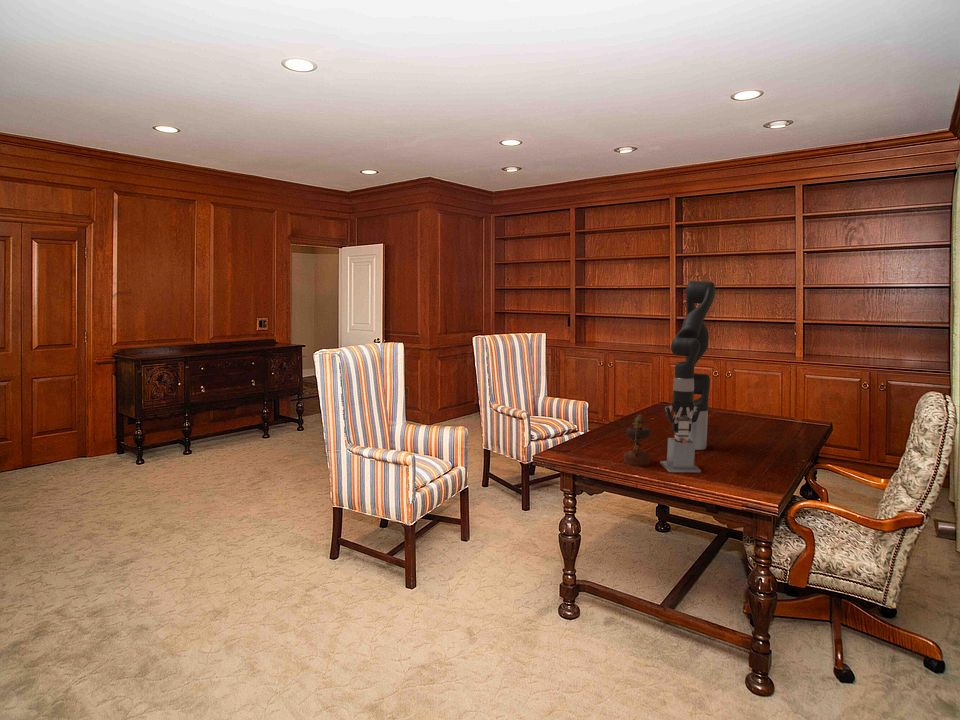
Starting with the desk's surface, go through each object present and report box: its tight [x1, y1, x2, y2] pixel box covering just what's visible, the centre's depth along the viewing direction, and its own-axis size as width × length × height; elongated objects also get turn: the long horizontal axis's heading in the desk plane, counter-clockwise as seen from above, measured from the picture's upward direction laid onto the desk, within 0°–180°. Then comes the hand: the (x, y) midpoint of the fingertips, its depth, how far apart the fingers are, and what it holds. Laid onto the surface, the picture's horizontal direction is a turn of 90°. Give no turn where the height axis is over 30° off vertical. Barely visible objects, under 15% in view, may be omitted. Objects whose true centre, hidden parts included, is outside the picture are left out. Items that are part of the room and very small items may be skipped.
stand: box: [660, 437, 702, 474], centre depth 233 cm, size 12×12×12 cm
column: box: [674, 416, 691, 442], centre depth 232 cm, size 5×5×19 cm
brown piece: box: [623, 414, 651, 467], centre depth 241 cm, size 15×11×20 cm
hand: (681, 432), depth 232 cm, fingers closed on column, 4 cm apart
